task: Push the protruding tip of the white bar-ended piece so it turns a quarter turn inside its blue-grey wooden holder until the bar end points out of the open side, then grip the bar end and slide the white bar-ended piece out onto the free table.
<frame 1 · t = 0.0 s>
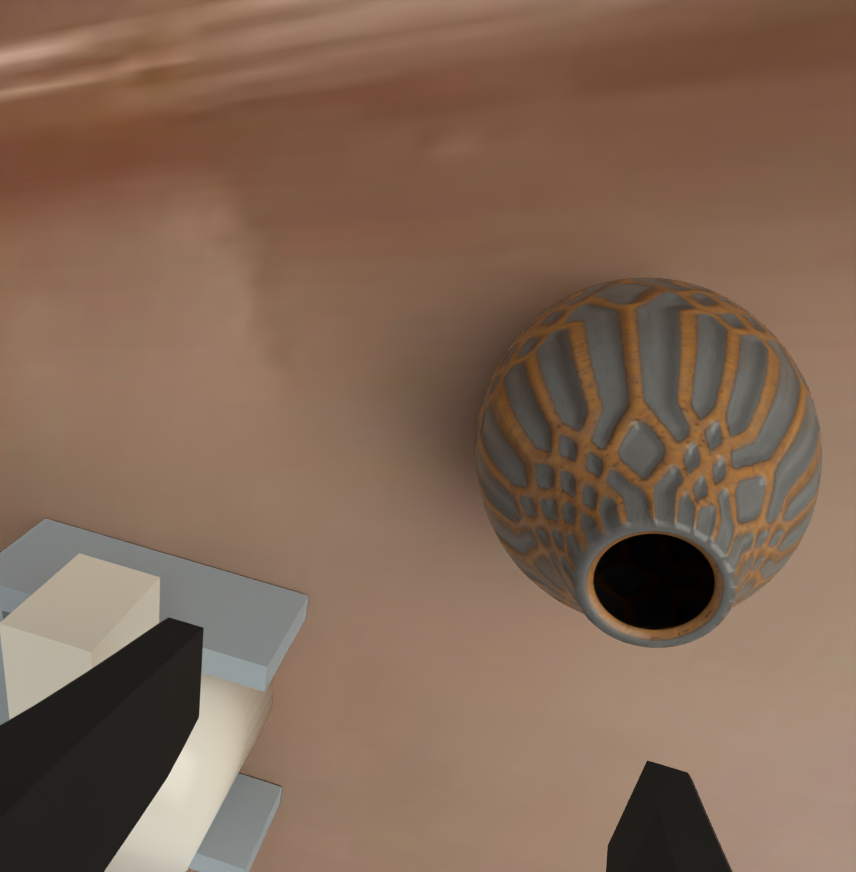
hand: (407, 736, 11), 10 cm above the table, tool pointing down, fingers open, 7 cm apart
vase: (629, 384, 19), on the table
holder: (183, 674, 27), on the table
white bar-ended piece: (184, 673, 27), on the table
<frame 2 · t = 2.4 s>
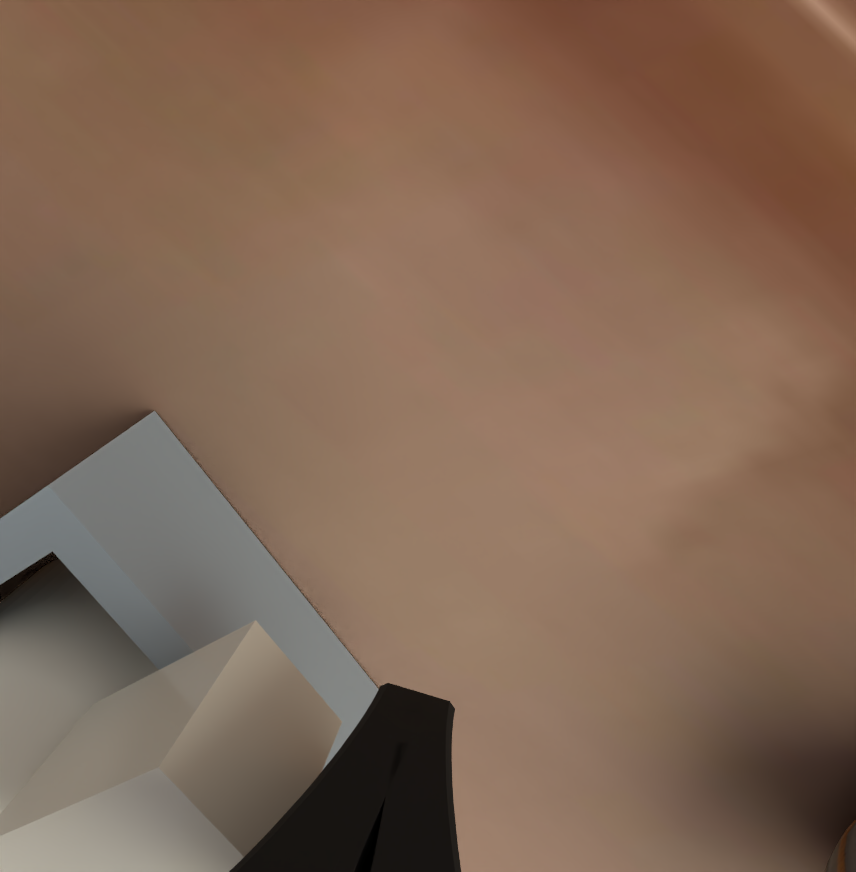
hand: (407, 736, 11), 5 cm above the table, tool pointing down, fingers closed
holder: (152, 667, 19), on the table
white bar-ended piece: (136, 666, 19), on the table, touching gripper
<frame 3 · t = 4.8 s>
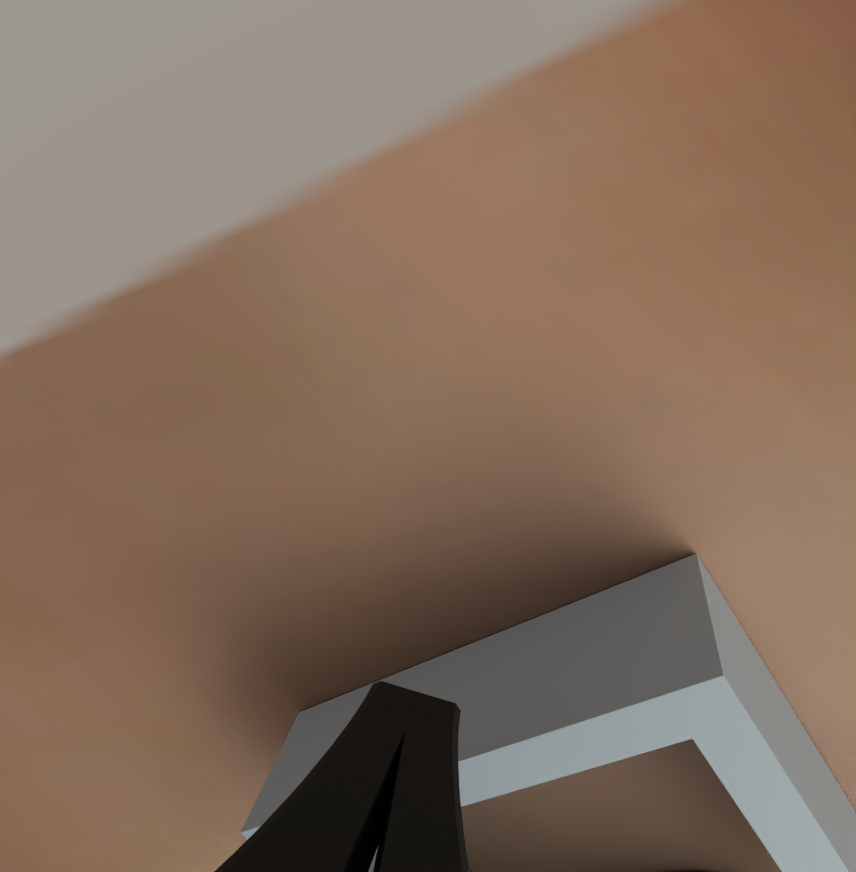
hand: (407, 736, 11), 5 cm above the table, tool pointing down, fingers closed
holder: (590, 802, 18), on the table
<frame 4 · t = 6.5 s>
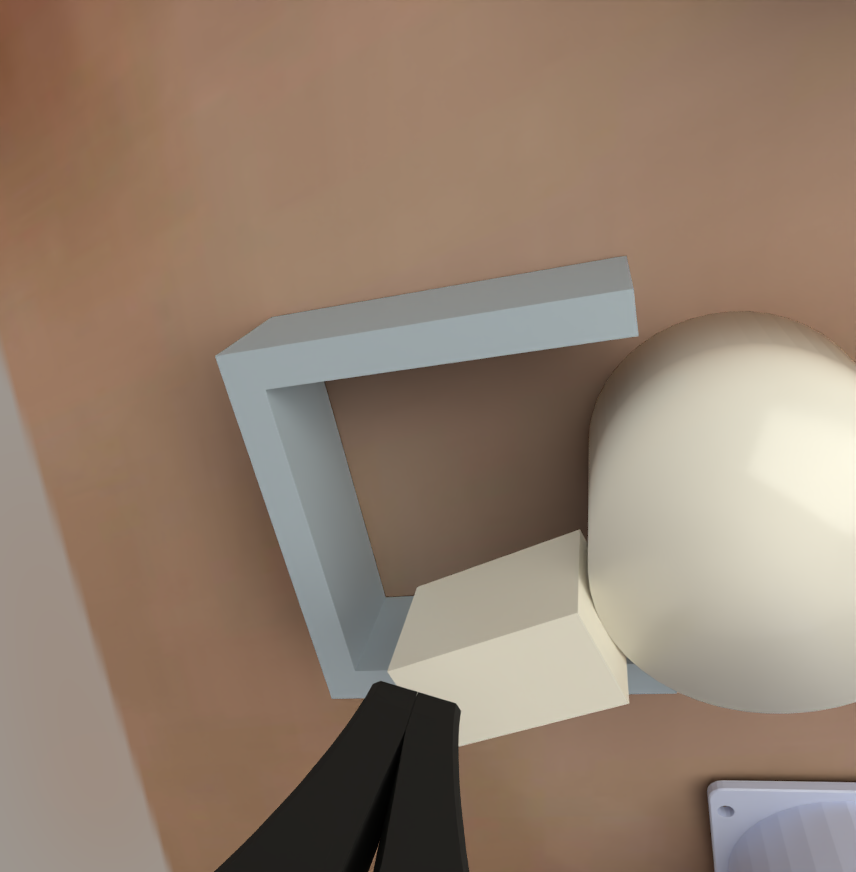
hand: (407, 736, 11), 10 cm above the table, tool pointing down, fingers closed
holder: (491, 466, 21), on the table
white bar-ended piece: (724, 441, 19), on the table
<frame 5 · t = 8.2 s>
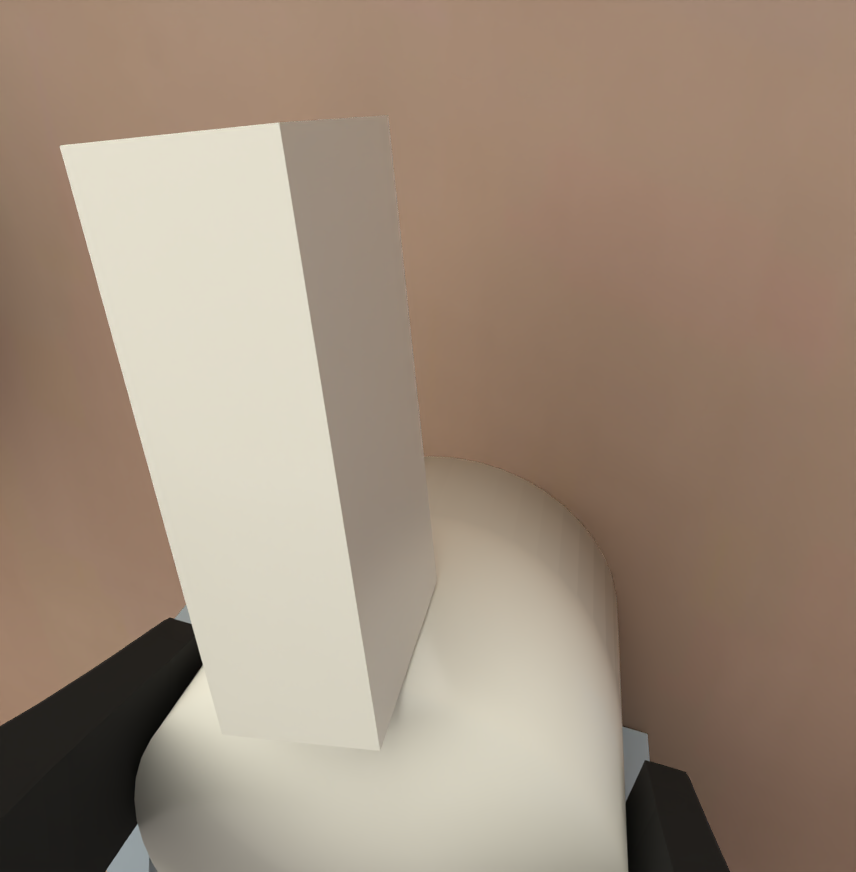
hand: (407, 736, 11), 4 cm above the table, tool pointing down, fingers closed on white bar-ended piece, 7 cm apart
holder: (382, 790, 18), on the table
white bar-ended piece: (446, 605, 15), on the table, touching gripper
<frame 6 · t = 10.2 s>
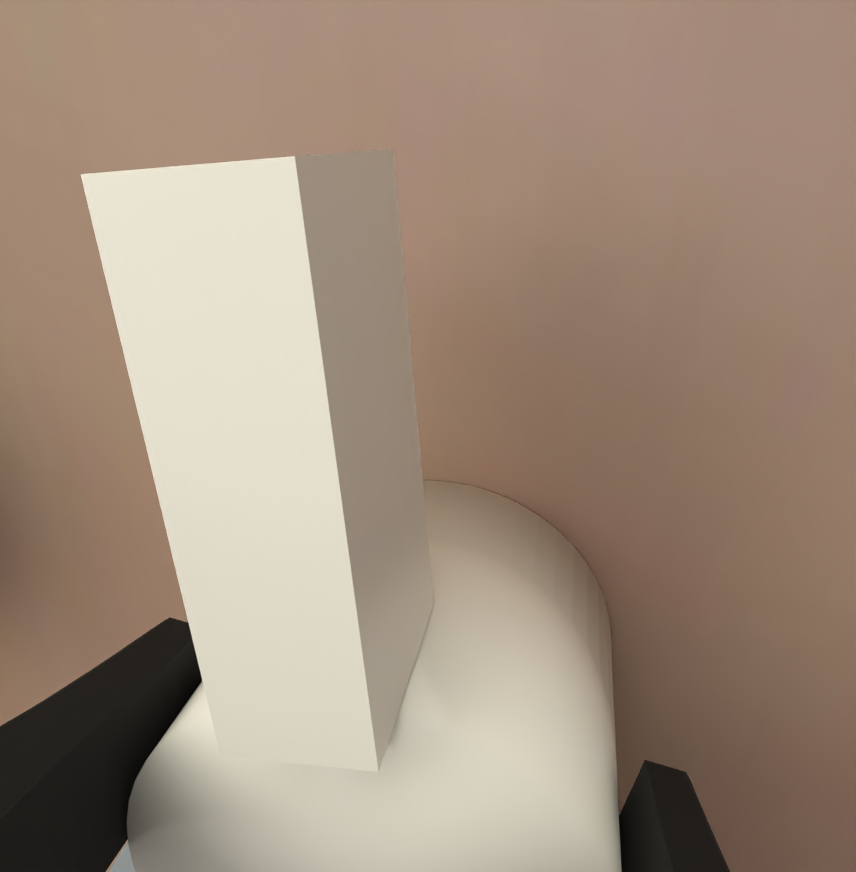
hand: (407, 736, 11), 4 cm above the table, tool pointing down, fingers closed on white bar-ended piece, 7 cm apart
white bar-ended piece: (440, 629, 15), on the table, touching gripper
when the fingers open (4 cm above the table, at t = 12.3 s): white bar-ended piece stays where it is, on the table.
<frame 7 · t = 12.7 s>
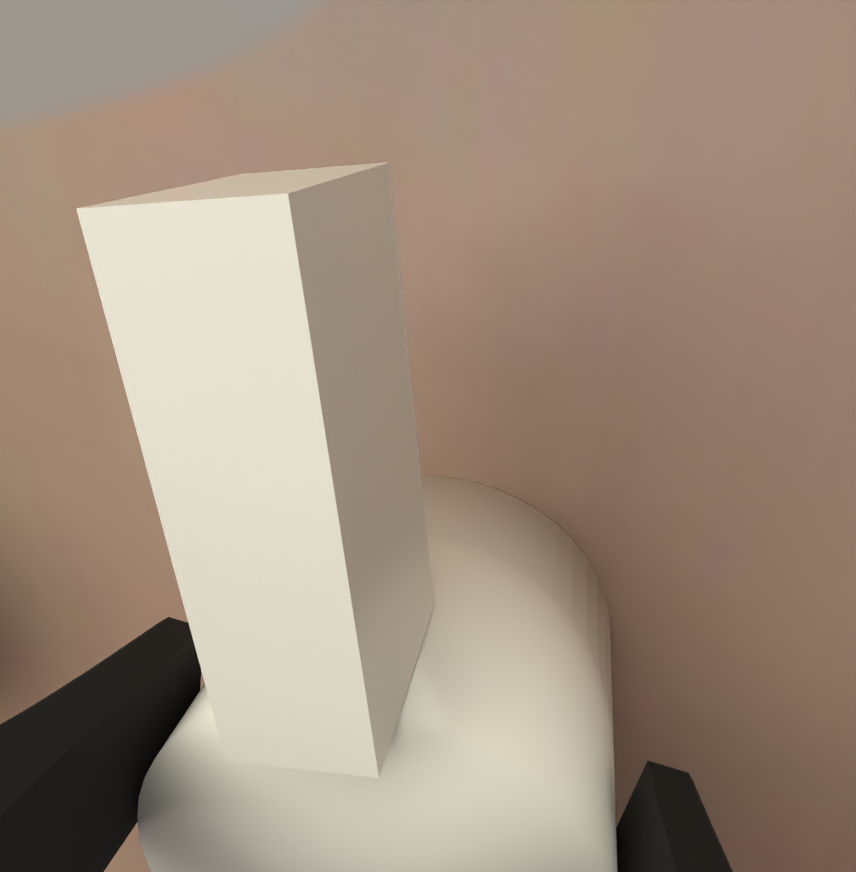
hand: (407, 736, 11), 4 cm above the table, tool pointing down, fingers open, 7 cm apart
white bar-ended piece: (442, 620, 16), on the table, touching gripper
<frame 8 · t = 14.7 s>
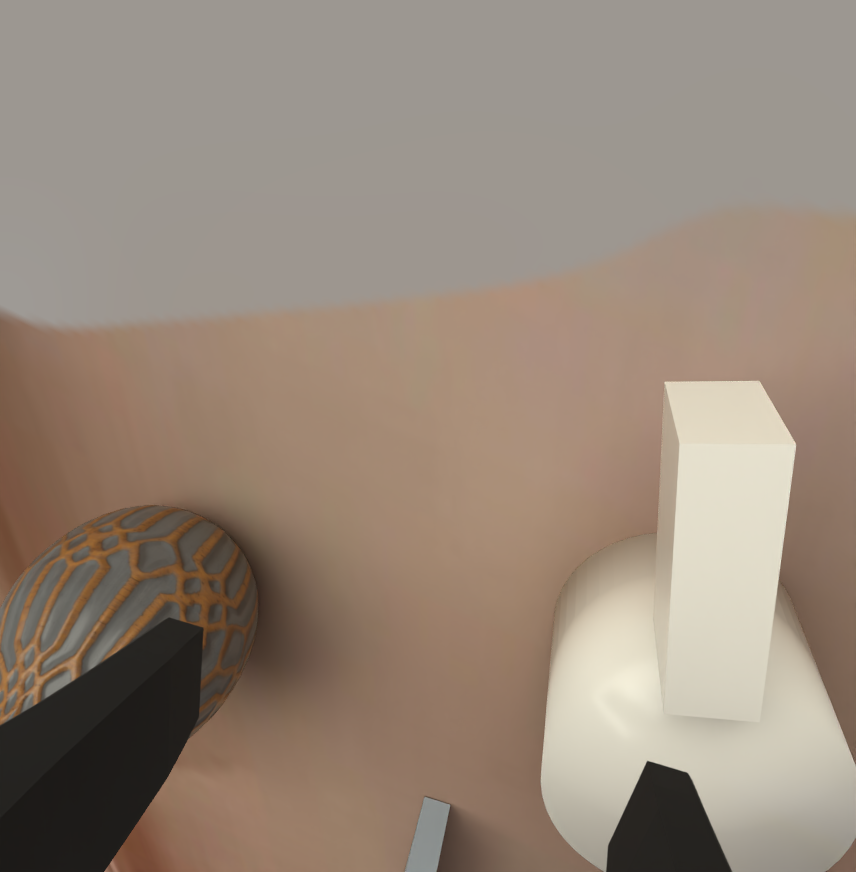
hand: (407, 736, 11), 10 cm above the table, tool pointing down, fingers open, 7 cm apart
vase: (195, 559, 25), on the table
white bar-ended piece: (670, 630, 22), on the table
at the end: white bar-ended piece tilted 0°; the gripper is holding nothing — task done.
